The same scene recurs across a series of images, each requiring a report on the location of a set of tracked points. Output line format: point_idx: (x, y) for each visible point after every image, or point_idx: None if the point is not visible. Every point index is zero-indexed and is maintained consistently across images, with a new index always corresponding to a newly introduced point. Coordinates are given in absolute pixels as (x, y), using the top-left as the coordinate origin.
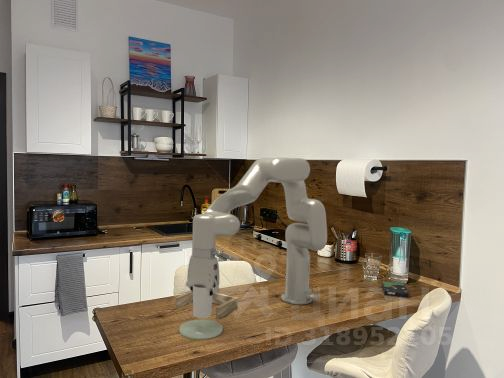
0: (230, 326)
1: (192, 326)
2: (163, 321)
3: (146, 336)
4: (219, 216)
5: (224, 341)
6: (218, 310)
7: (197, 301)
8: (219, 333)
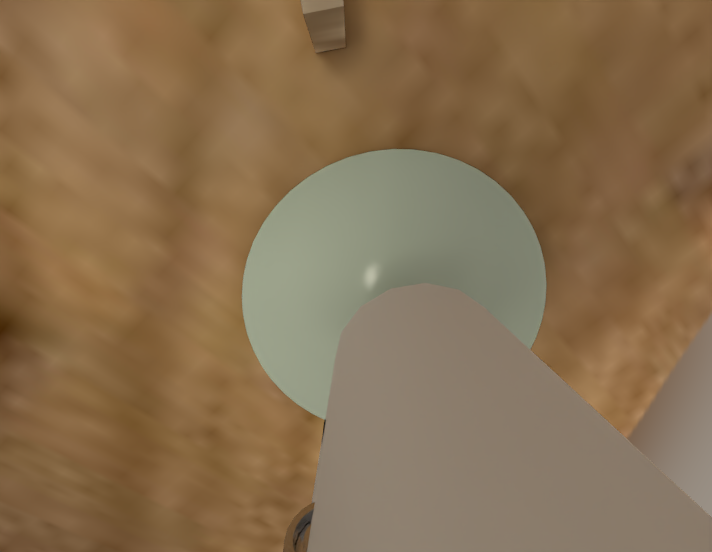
0: (517, 96)
1: (332, 332)
2: (104, 370)
3: (233, 530)
4: None
5: (612, 315)
6: (337, 18)
7: None
8: (544, 278)
